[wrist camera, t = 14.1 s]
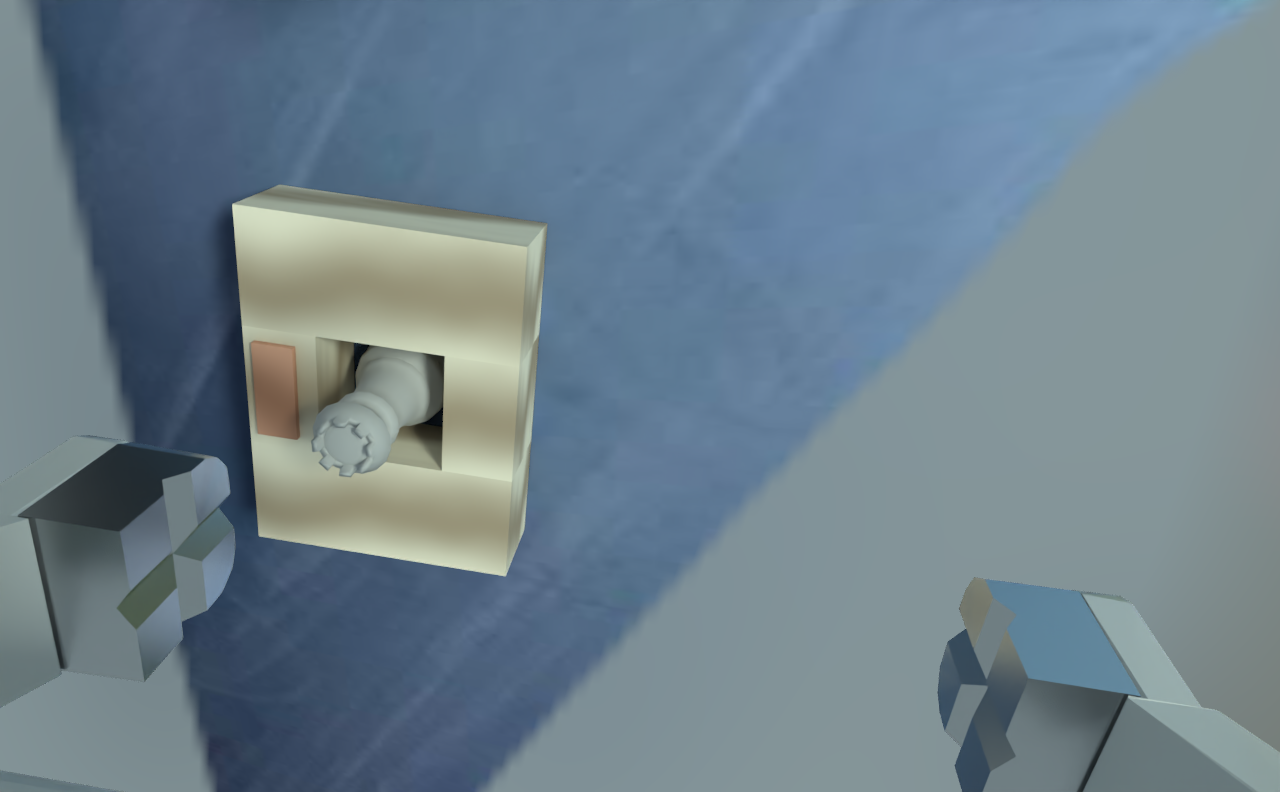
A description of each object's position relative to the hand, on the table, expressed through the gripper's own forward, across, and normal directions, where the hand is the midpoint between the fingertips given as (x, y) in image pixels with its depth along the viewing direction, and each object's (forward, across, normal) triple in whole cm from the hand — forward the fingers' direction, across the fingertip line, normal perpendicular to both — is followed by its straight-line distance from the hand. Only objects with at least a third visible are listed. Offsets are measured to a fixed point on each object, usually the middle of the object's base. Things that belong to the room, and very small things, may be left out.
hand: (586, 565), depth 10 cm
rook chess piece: (+29, +12, +12) cm, 34 cm away
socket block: (+29, +12, +12) cm, 34 cm away
